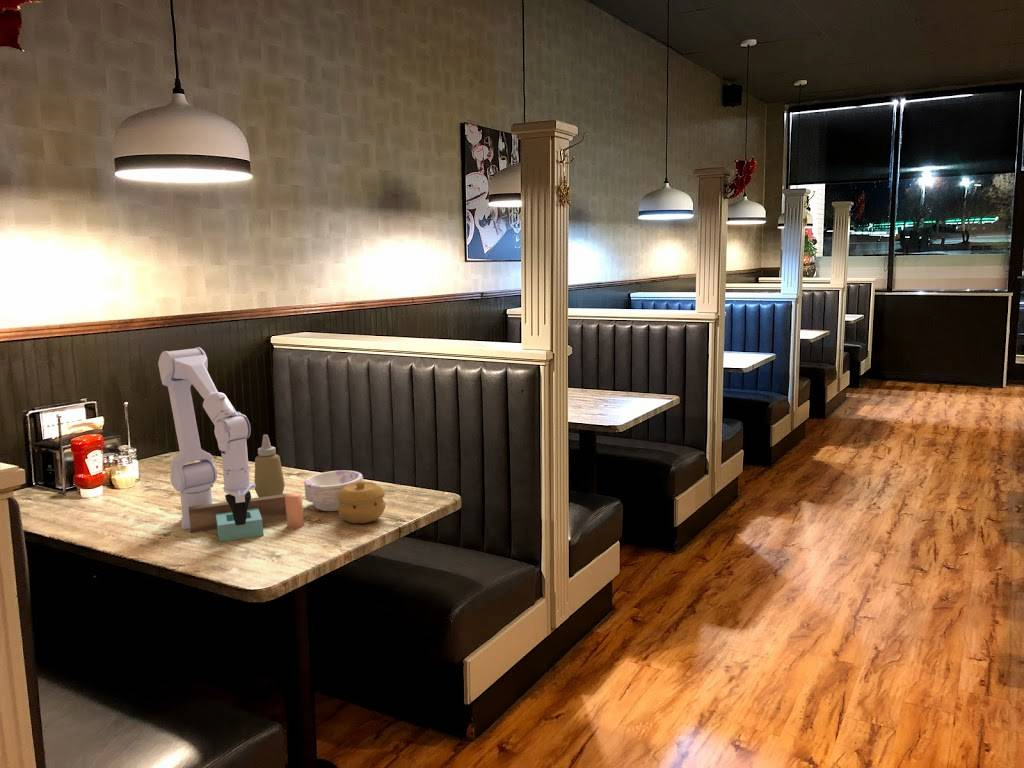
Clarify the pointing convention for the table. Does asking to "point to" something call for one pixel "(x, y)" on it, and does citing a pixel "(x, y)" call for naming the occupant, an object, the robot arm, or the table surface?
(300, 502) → the dowel
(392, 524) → the table surface
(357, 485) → the pot
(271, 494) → the squeeze bottle
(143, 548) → the table surface
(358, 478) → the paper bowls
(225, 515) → the sliding block
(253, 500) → the backstop wall
